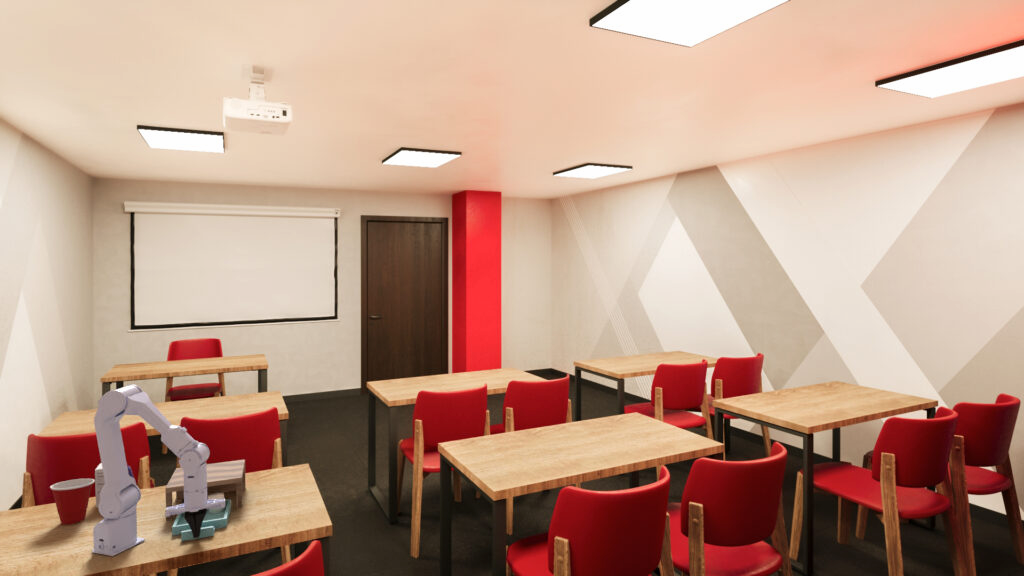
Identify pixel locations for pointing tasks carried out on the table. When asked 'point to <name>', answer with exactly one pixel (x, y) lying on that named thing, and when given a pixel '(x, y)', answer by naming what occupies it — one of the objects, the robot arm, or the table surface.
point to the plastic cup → (72, 499)
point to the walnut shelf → (212, 481)
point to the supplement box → (99, 482)
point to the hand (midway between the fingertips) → (196, 536)
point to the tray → (210, 523)
